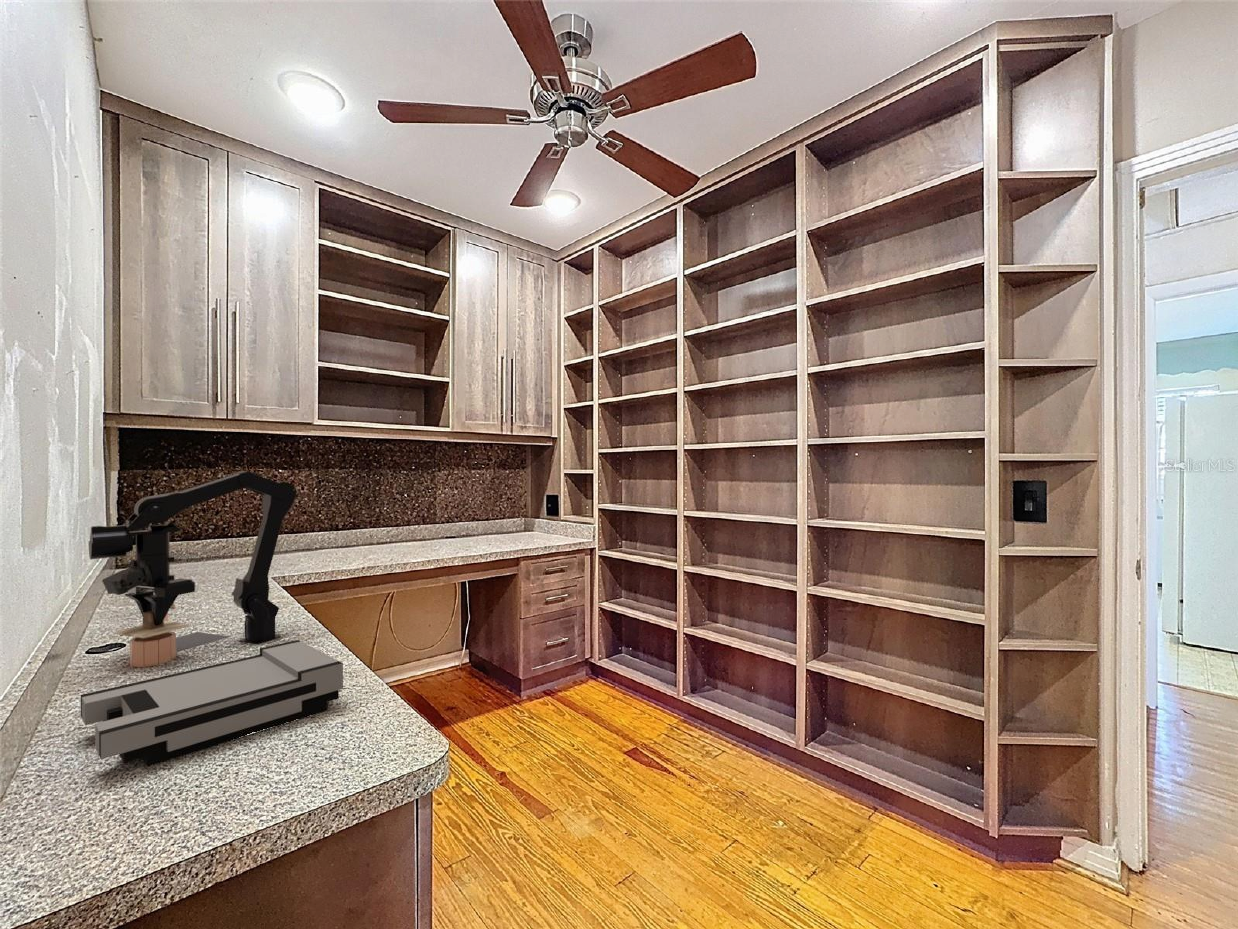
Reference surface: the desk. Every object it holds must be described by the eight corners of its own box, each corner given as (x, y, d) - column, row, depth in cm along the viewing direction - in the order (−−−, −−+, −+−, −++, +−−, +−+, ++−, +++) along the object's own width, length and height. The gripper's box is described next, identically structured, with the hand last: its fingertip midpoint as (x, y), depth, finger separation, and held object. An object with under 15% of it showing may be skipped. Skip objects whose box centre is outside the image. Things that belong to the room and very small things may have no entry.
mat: (230, 638, 142) (230, 636, 142) (179, 653, 131) (179, 651, 131) (197, 633, 147) (197, 631, 147) (145, 647, 135) (145, 646, 135)
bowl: (184, 658, 128) (184, 633, 128) (144, 670, 120) (144, 644, 120) (161, 654, 130) (161, 630, 130) (121, 666, 123) (121, 640, 123)
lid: (188, 626, 128) (188, 608, 128) (143, 638, 119) (143, 618, 119) (162, 623, 131) (161, 605, 131) (116, 634, 122) (116, 615, 122)
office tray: (80, 738, 91) (80, 687, 91) (298, 680, 115) (298, 640, 115) (101, 786, 77) (100, 725, 77) (343, 709, 101) (342, 663, 101)
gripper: (81, 557, 121) (82, 631, 121) (139, 561, 114) (139, 639, 114) (140, 549, 131) (141, 617, 131) (196, 553, 125) (197, 624, 125)
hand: (153, 624), depth 125 cm, fingers closed on lid, 3 cm apart
